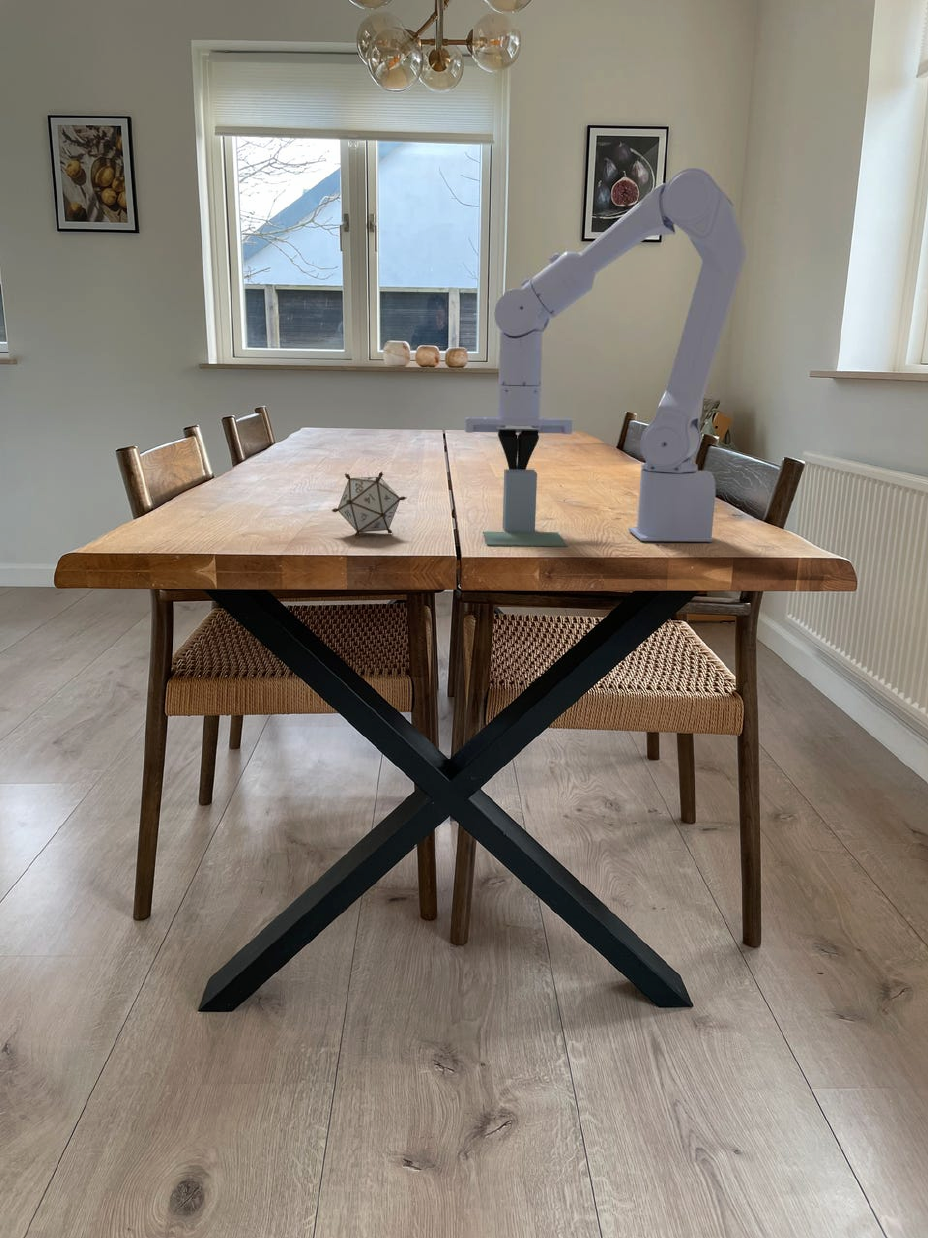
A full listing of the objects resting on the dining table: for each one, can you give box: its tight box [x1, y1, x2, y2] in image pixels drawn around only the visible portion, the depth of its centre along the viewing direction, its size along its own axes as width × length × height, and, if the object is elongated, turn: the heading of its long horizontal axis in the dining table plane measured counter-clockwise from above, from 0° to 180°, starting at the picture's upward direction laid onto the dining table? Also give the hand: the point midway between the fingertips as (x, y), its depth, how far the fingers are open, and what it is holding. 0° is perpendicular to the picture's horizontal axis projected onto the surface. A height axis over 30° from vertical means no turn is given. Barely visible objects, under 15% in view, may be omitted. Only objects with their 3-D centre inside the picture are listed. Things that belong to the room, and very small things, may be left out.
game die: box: [331, 471, 407, 538], centre depth 122 cm, size 9×8×10 cm
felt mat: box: [482, 531, 568, 548], centre depth 122 cm, size 10×9×1 cm
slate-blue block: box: [502, 468, 538, 532], centre depth 127 cm, size 4×4×8 cm
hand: (516, 485), depth 131 cm, fingers closed
